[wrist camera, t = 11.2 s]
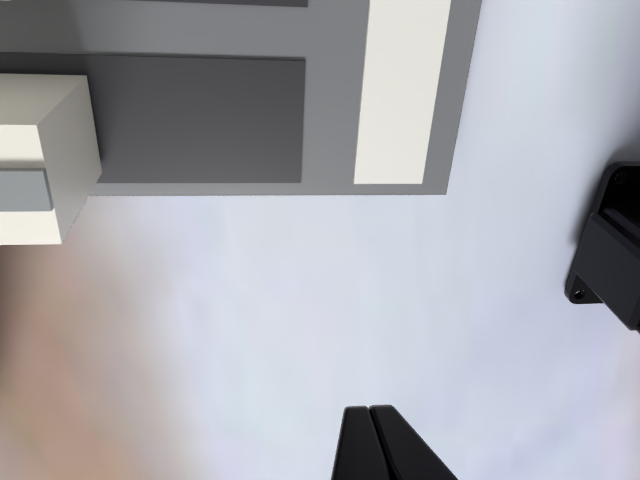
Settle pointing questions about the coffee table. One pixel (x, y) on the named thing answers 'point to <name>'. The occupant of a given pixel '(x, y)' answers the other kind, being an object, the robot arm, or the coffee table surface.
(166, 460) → the coffee table surface
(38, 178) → the block
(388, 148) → the breaker panel
